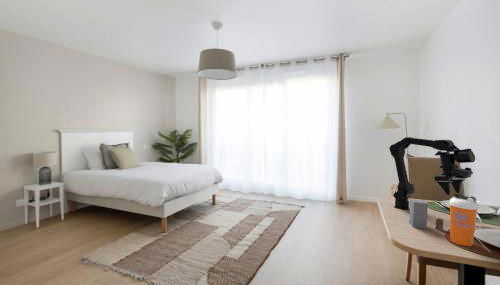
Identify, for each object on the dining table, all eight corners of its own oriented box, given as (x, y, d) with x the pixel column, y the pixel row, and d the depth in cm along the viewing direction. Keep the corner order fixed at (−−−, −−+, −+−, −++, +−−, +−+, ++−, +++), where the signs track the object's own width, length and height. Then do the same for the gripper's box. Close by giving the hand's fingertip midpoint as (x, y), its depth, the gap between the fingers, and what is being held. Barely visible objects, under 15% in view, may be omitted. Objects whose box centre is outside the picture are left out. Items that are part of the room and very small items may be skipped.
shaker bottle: (448, 235, 104) (451, 191, 103) (476, 242, 98) (479, 196, 97) (446, 242, 98) (448, 195, 97) (475, 250, 92) (478, 200, 91)
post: (435, 228, 112) (436, 218, 111) (436, 227, 113) (437, 217, 113) (442, 230, 110) (442, 220, 109) (443, 229, 111) (443, 219, 111)
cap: (409, 222, 119) (410, 198, 118) (422, 224, 117) (423, 200, 117) (412, 226, 114) (413, 201, 113) (426, 228, 112) (427, 203, 111)
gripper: (458, 163, 109) (463, 197, 108) (476, 161, 117) (482, 193, 116) (431, 164, 119) (436, 195, 117) (450, 163, 127) (455, 191, 126)
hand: (453, 194), depth 119 cm, fingers open, 9 cm apart
